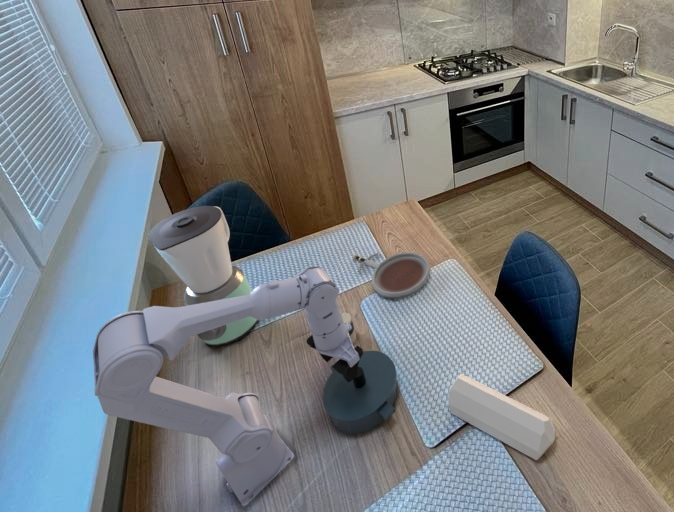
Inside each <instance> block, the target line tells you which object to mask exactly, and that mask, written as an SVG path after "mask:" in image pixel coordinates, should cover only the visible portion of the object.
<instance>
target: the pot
mask: <svg viewBox="0 0 674 512" xmlns="http://www.w3.org/2000/svg"><path fill="white" fill-rule="evenodd" d="M330 370H331V371H332V372H333V371H334V370H335V369H334V368H333V367H332V365H331V366H330ZM397 385H398V384H397V381H396V382H395V386H394V388H393V391H392V393H391V395H390V396H389V398H388V399H387V401H386V402H385V403H384V404H383V405H382V406H381V407H380V408H379V409H378V410H377V411H375V412H374V413H372V414H371V415H369V416H367V417H365V418H363V419H360V420H357V421H351V422H344V421H339V420H336V419H334V418H333V417H331V416H330V418H331V421H332V423H333V425H334V426H335V427H336V428H337V429H338V430H339V431H340V432H343V433H347V434H350V435H356V434H361V433H365V432H368V431H370V430H372V429H374V428H375V427H377V426H378V425H380V424H381V423H382V422H383V421H385V422H388V420H389V419H390V418H391V417H392V416H393V415H394V413H395V412H396V408H395V407H394V404H395V403H396V400H397V394H398V393H397V391H398V386H397Z"/></svg>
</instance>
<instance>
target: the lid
mask: <svg viewBox="0 0 674 512" xmlns="http://www.w3.org/2000/svg"><path fill="white" fill-rule="evenodd" d="M395 382H396V383H397V369H396V365H395V363H394V361H393V359H392V358H391V357H390V356H389V355H388V354H386V353H385V352H383V351H378V350H365V351H364V350H363V355H362V357H361V359H360V361H359V364H358V372H357V376H356V377H355V378H354V379H353V380H352V381H351V382H347V381H346V380H345V379H344V377H343V375H342V374H340V373H338V372H337V371H336V370H334V371H332V372H331V373H330V375H329V376H328V378H327V379H326V382H325V385H324V388H323V392H322V403H323V407H324V409H325V412H327V414H328V415H329V416H330V418H331V417H333V418H334V419H336V420H339V421H344V422H351V421H357V420H360V419H363V418H365V417H367V416H369V415H371V414H372V413H374V412H375V411H377V410H378V409H379V408H380V407H381V406H382V405H383V404H384V403H385V402H386V401H387V399H388V398H389V396H390V395H391V393H392V391H393V388H394V386H395Z"/></svg>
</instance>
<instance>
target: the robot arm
mask: <svg viewBox="0 0 674 512" xmlns="http://www.w3.org/2000/svg"><path fill="white" fill-rule="evenodd" d="M339 289H340V288H339V287H337V285H336V283H335V282H334V280H333V279H332V278H331V277H330V276H329V274H328V273H327V272H326V270H325V269H323V267H320V266H316V265H315V266H308V267H305V268H304V269H302V270H300V272H299V273H297V274H295V275H293V276H291V277H289V278H284V279H280V280H276V279H272V280H271V279H270V280H268V281H267V283H263V284H258V285H256V286H255V287H254V289H252V292H251V293H250V294H249V295H245V296H239V297H234V298H228V299H222V300H217V301H211V302H205V303H200V304H194V305H188V306H186V305H183V306H177V307H176V306H175V307H174V306H173V307H172V306H162V305H152V306H149V307H145V308H142V310H131V311H125V312H123V313H120V314H118V315H116V316H113V317H112V318H110V319H109V320H108V321H106V322H105V323H104V324H103V325H102V326H101V327H100V328H99V330H98V331H97V335H96V337H95V340H94V345H93V349H92V359H93V375H94V396H96V397H97V399H98V401H99V404H100V407H101V410H102V412H103V413H104V414H105V415H108V416H111V417H115V418H119V419H123V420H128V421H133V422H136V423H141V424H144V425H145V424H146V425H150V426H153V427H154V426H155V427H160V428H163V429H167V430H172V431H177V432H180V433H181V432H182V433H186V434H188V435H189V434H190V435H194V436H199V437H202V438H207V439H209V440H210V441H211V443H212V444H213V445H214V446H215V448H216V449H217V450H218V451H219V452H220V453H221V455H220V456H219V457H218V458H217V460H216V461H215V465H216V466H217V468H218V469H219V471H220V472H221V474H222V475H223V477H224V479H225V481H226V482H227V483H226V484H225V485H226V488H227V489H228V490H229V492H230V493H234V495H235V496H236V498H237V499H238V501H239V502H240V504H241V506H242V507H245V506H247V505H249V503H251V501H252V500H253V499H254V498H255V497H256V496H257V495H258V494H259V493H260V492H261V491H262V490H263V489H264V488H265V487H266V486H267V485H268V484H269V483H270V482H272V480H273V479H275V477H277V475H278V474H280V473H281V472H282V471H283V470H284V468H286V467H287V466H288V465H289V464H290V462H292V461H293V459H294V458H295V454H294V452H293V451H292V450H291V448H290V447H289V446H288V445H287V444H286V442H285V441H284V440H283V438H282V437H281V436H280V435H279V433H278V431H277V429H276V426H275V425H274V423H273V420H272V419H271V417H269V416H268V415H265V413H264V411H263V409H262V406H261V403H260V399H259V396H258V395H257V393H254V392H243V393H237V392H230V393H229V394H227V395H226V396H224V397H222V396H219V395H217V394H213V393H210V392H206V391H204V390H200V389H198V388H193V387H191V386H188V385H184V384H181V383H178V382H174V381H171V380H169V379H165V378H162V377H159V376H157V375H158V374H159V372H160V371H161V369H162V366H163V364H164V357H168V359H169V362H172V361H173V360H174V359H175V358H176V357H177V355H178V354H179V353H180V352H181V350H182V349H183V348H184V346H185V344H186V343H187V342H188V341H189V339H191V337H194V336H198V335H197V334H199V333H202V332H205V331H208V330H211V329H214V328H217V327H220V326H223V325H226V324H229V323H232V322H235V321H238V320H241V319H244V318H247V317H253V318H255V319H257V320H258V322H262V321H265V320H269V319H272V318H273V319H274V318H277V317H279V316H282V315H283V316H284V315H287V314H290V313H293V312H297V311H300V310H304V309H305V310H304V314H305V317H306V319H307V322H308V323H307V328H308V330H309V331H310V332H311V335H310V336H308V338H307V339H306V344H307V345H308V346H309V347H310V348H313V349H314V350H316V351H317V353H318V354H319V355H320V356H321V358H322V359H323V360H324V361H325V362H326V363H329V361H331V360H332V359H333V358H336V359H338V360H337V361H335V363H333V364H332V365H331V366H332V367H333V368H334V369H335V370H336V371H337V372H338V373H340V374H342V375H343V377H344V379H345V380H346V381H347V382H351V381H352V380H353V379H354V378H355V377H356V376H357V372H358V364H359V361H360V359H361V357H362V355H363V352H364V350H363V348H362V347H360V346H359V345H357V346H354V345H353V344H354V343H353V344H352V341H351V339H350V336H349V333H348V332H349V331H350V330H351V329H352V327H351V325H350V324H349V323H348V322H345V323H344V321H343V317H342V314H341V313H342V310H341V307H340V304H339V301H338V296H339V294H340V293H339V292H340V290H339ZM251 496H252V497H251Z"/></svg>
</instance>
